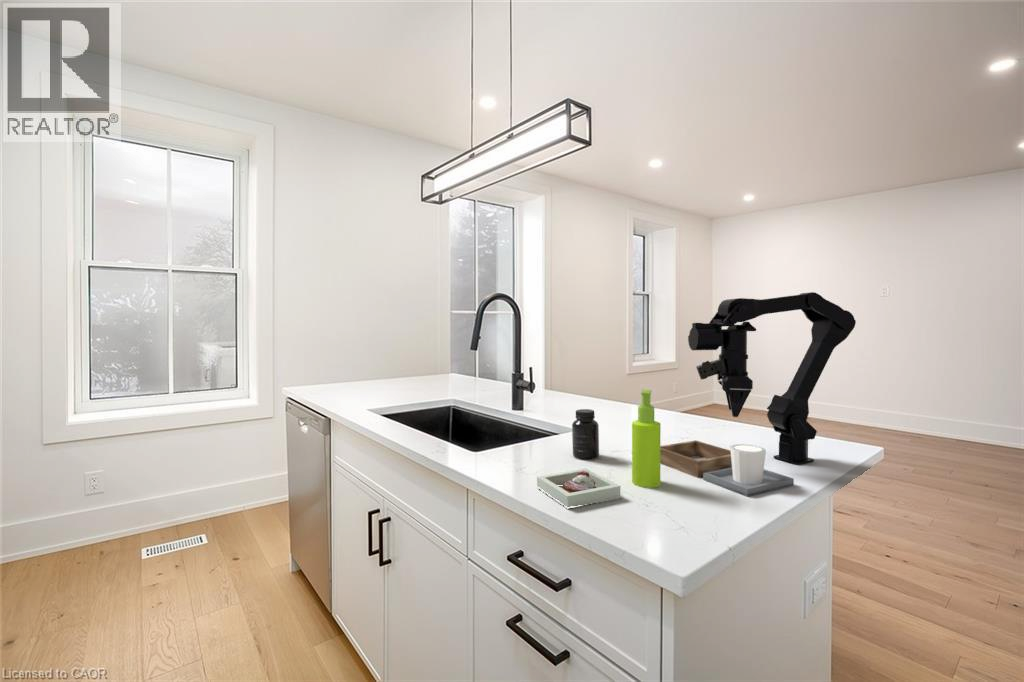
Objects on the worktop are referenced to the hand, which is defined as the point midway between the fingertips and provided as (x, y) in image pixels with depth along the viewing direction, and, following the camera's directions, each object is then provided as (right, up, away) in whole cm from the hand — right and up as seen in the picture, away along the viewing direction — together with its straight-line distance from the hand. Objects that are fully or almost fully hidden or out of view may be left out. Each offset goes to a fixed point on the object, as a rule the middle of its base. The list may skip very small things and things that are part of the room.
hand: (733, 413), depth 114 cm
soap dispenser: (-25, -13, -13) cm, 31 cm away
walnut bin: (-10, -12, -2) cm, 16 cm away
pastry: (-41, -14, -21) cm, 48 cm away
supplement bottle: (-35, -12, +6) cm, 38 cm away
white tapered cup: (-4, -12, -14) cm, 19 cm away
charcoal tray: (-4, -13, -14) cm, 20 cm away
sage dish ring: (-41, -13, -20) cm, 48 cm away
